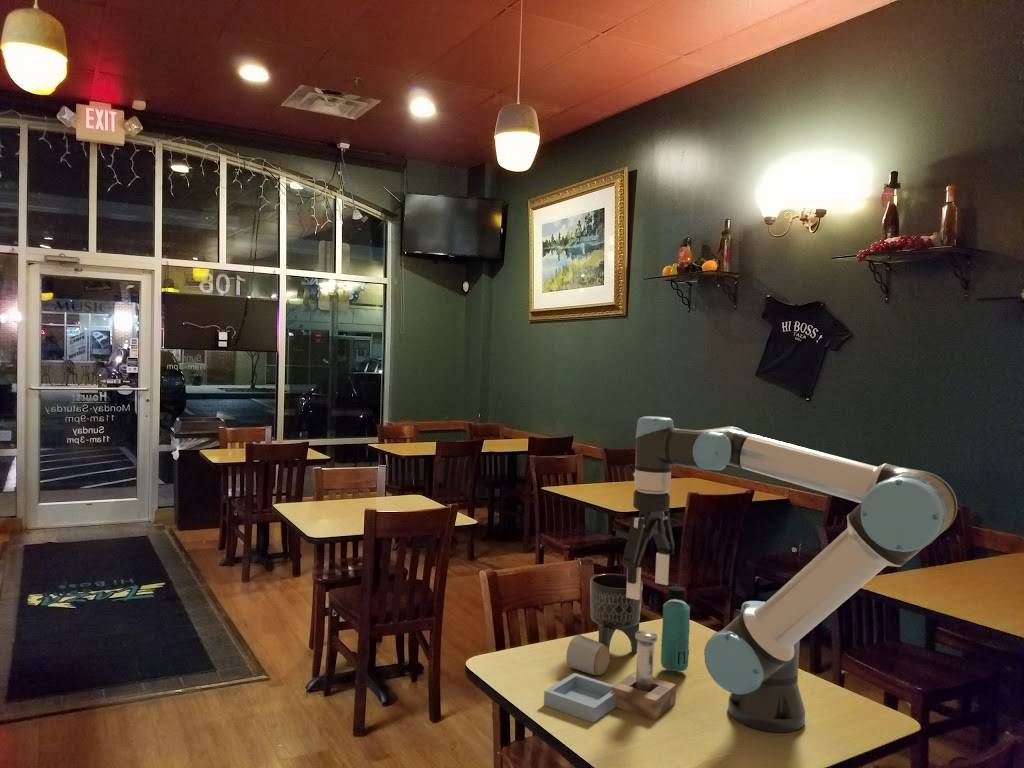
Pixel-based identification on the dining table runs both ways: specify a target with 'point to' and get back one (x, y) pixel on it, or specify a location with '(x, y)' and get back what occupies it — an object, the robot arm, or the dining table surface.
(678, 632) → the beverage bottle
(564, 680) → the tray
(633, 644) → the planter
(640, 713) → the block
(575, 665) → the ceramic mug
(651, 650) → the pin
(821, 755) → the dining table surface
